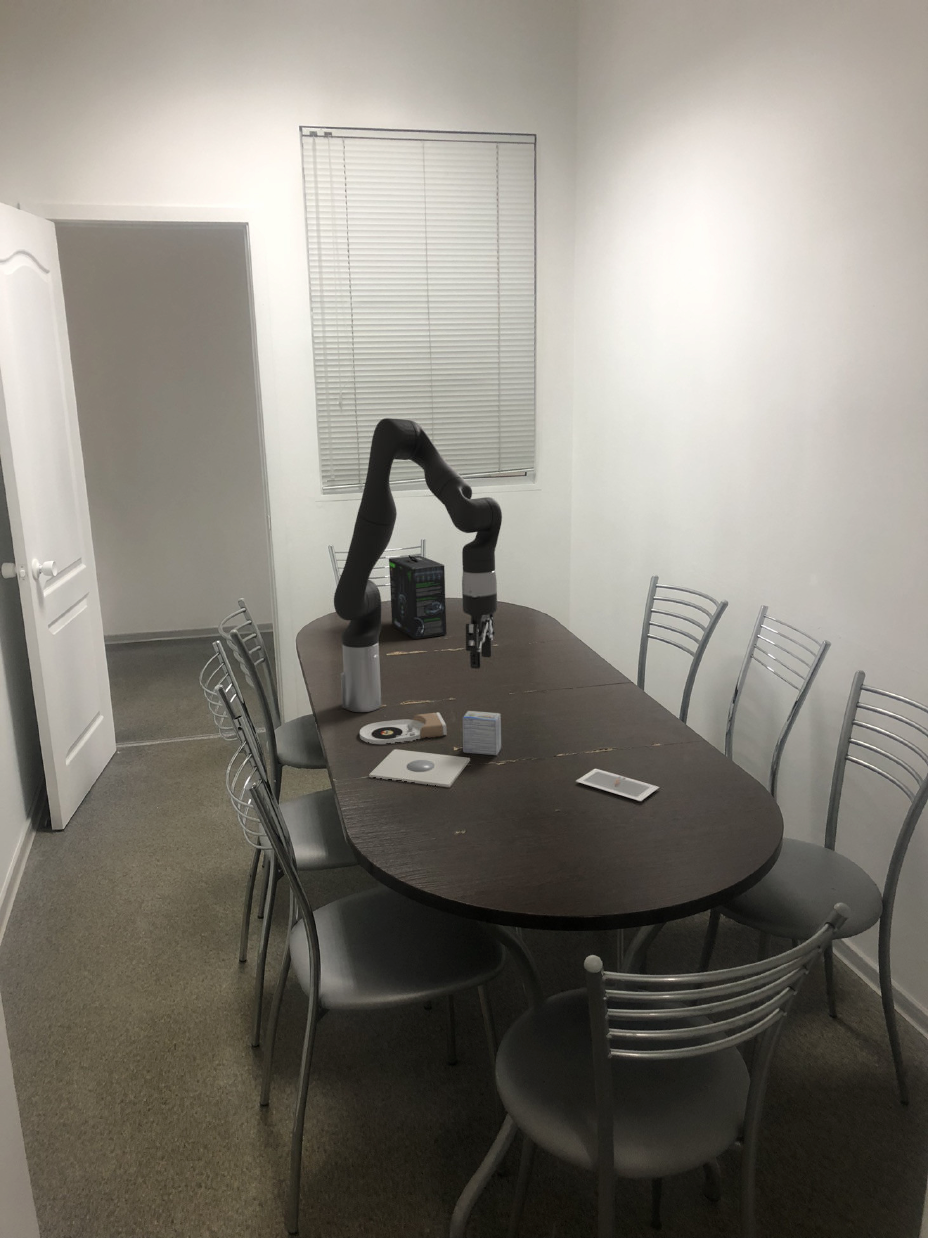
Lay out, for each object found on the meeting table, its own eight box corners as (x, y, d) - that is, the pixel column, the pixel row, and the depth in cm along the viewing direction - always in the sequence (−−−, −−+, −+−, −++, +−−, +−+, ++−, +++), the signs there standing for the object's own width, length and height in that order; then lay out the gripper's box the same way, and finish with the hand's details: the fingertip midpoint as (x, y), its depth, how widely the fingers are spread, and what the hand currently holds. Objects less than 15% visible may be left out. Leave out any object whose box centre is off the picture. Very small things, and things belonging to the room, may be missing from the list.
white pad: (369, 776, 185) (369, 773, 185) (394, 751, 198) (394, 748, 198) (449, 787, 180) (449, 784, 180) (470, 760, 193) (470, 757, 193)
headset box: (390, 624, 306) (387, 551, 300) (422, 620, 311) (420, 548, 305) (414, 640, 287) (411, 562, 280) (447, 635, 291) (446, 559, 285)
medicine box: (501, 748, 199) (501, 712, 197) (496, 756, 195) (496, 719, 193) (468, 745, 201) (467, 710, 199) (462, 753, 197) (462, 717, 195)
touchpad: (640, 806, 171) (640, 796, 171) (575, 785, 181) (575, 776, 180) (659, 792, 177) (659, 782, 177) (595, 773, 187) (595, 763, 186)
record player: (447, 726, 205) (362, 736, 201) (447, 739, 206) (362, 748, 202) (437, 709, 216) (356, 718, 212) (438, 721, 217) (357, 730, 213)
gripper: (472, 583, 197) (474, 652, 201) (452, 597, 184) (455, 670, 188) (504, 584, 195) (506, 654, 199) (487, 598, 182) (488, 673, 186)
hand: (481, 662), depth 193 cm, fingers open, 8 cm apart
